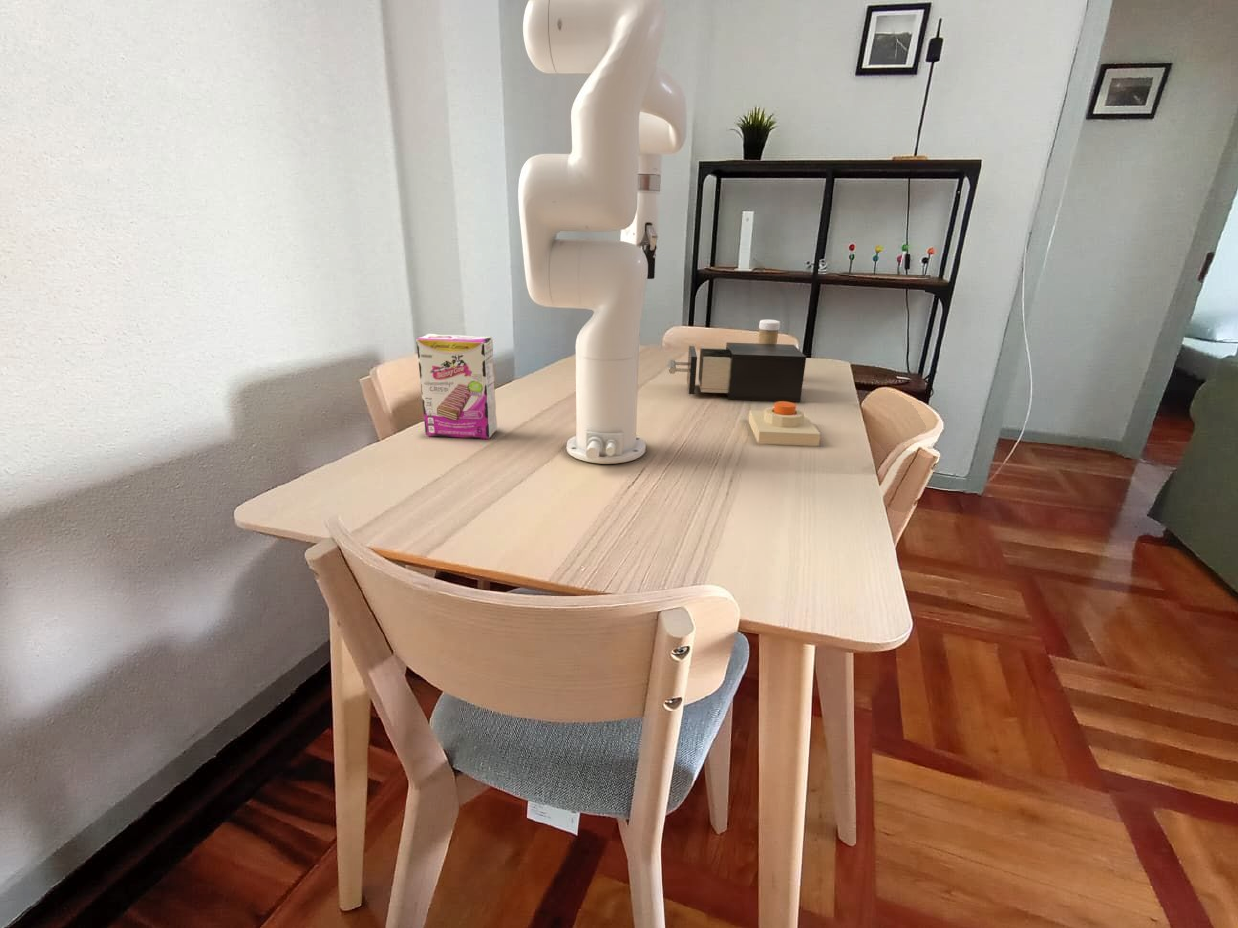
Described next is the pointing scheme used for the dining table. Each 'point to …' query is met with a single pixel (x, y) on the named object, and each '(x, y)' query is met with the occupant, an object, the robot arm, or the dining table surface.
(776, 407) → the button
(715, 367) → the drawer with knob
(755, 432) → the cream button base
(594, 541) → the dining table surface
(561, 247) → the robot arm
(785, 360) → the black drawer cabinet
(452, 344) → the candy bar box
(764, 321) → the sprinkles bottle
